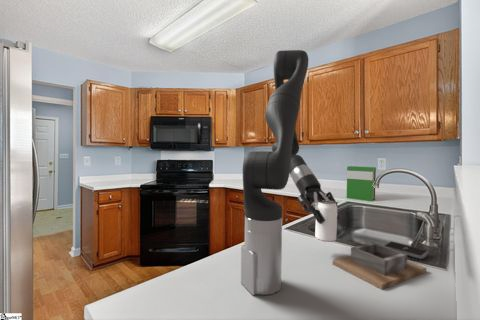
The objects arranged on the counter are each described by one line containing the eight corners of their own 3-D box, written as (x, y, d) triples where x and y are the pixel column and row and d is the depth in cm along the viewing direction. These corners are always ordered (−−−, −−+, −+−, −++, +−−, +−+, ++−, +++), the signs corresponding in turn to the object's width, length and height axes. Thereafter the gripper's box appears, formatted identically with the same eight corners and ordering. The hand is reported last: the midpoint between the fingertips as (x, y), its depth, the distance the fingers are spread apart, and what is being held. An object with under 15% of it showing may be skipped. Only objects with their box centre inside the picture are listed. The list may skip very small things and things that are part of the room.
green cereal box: (375, 200, 178) (375, 167, 177) (372, 201, 172) (372, 167, 172) (349, 196, 190) (350, 166, 189) (346, 198, 184) (347, 166, 184)
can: (319, 234, 83) (320, 199, 83) (338, 238, 79) (340, 201, 79) (311, 238, 78) (313, 201, 78) (332, 243, 74) (333, 204, 74)
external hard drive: (421, 262, 75) (421, 256, 75) (382, 251, 84) (382, 245, 84) (428, 256, 79) (428, 250, 79) (390, 246, 88) (390, 241, 88)
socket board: (381, 289, 59) (382, 269, 59) (332, 264, 72) (333, 247, 72) (426, 272, 68) (426, 254, 68) (375, 252, 82) (375, 237, 81)
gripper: (294, 173, 81) (320, 217, 71) (325, 173, 88) (353, 212, 78) (284, 187, 86) (306, 230, 76) (314, 185, 93) (339, 225, 82)
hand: (330, 221), depth 77 cm, fingers closed on can, 6 cm apart
